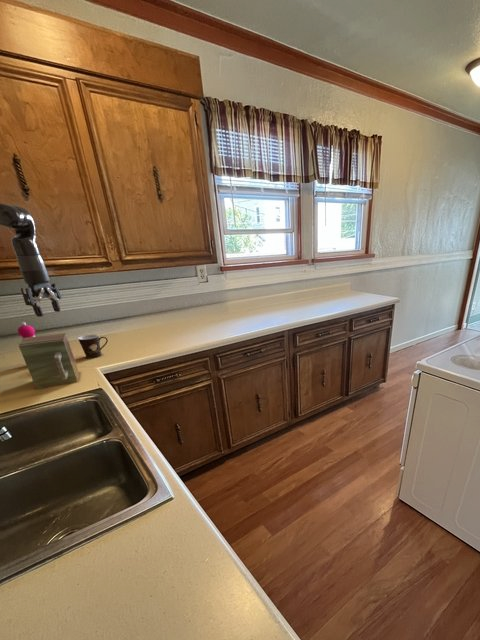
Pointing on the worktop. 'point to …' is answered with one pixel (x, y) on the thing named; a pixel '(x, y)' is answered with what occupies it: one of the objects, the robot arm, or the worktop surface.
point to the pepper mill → (26, 331)
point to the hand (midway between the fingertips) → (49, 313)
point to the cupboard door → (48, 363)
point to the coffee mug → (91, 345)
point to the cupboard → (53, 338)
